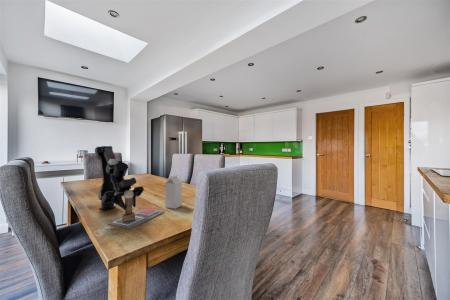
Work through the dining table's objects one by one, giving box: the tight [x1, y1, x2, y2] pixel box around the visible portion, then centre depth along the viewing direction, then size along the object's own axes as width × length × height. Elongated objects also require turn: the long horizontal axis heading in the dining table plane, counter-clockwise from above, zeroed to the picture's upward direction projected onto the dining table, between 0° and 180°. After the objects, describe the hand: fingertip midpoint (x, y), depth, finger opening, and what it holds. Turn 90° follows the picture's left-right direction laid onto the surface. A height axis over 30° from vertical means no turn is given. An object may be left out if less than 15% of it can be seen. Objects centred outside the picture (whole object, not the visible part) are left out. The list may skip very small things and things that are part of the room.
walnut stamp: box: [121, 189, 135, 223], centre depth 92 cm, size 5×5×15 cm
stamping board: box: [107, 208, 165, 230], centre depth 96 cm, size 14×23×2 cm, turn 160°
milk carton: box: [164, 175, 183, 210], centre depth 116 cm, size 7×7×19 cm
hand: (130, 208), depth 91 cm, fingers open, 4 cm apart
